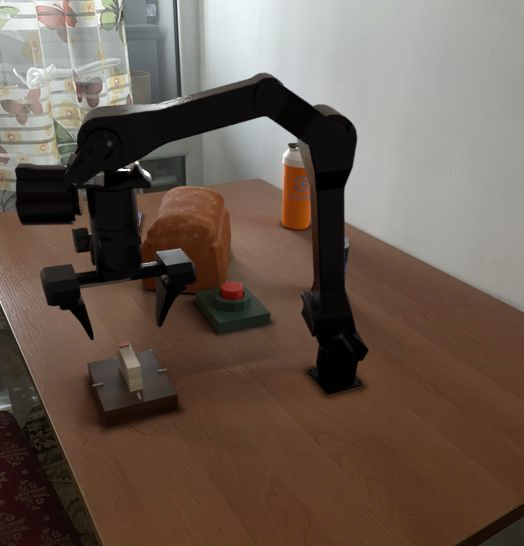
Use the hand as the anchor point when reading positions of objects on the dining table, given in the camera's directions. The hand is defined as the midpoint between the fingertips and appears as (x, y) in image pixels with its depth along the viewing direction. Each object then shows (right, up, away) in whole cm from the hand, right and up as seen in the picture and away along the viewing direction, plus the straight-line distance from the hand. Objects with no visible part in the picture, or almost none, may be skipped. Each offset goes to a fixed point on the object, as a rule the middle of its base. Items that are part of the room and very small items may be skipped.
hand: (126, 332), depth 75 cm
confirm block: (+13, +5, +27) cm, 30 cm away
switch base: (-1, -9, +6) cm, 11 cm away
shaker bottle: (+27, +30, +66) cm, 78 cm away
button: (+13, +8, +25) cm, 29 cm away
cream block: (0, -6, +4) cm, 8 cm away
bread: (+3, +15, +42) cm, 45 cm away
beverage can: (+32, +9, +35) cm, 48 cm away
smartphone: (-15, +28, +60) cm, 69 cm away
